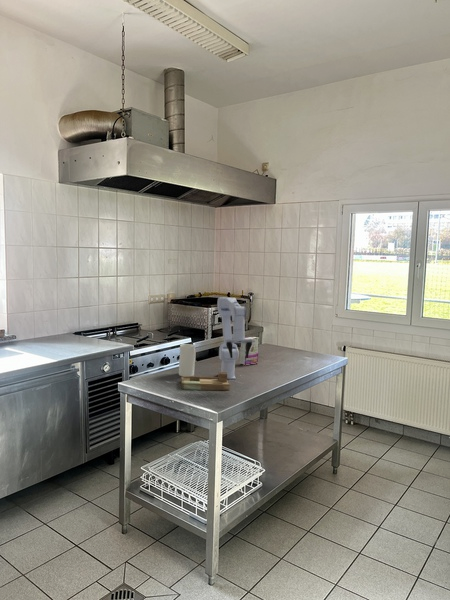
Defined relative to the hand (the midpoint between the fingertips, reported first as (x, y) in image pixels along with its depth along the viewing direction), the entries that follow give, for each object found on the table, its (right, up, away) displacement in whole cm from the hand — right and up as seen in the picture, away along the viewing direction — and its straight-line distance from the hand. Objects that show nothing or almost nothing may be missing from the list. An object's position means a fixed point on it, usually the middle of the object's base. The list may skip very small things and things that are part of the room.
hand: (239, 358), depth 217 cm
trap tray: (-17, -14, +2) cm, 22 cm away
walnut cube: (-8, -12, +6) cm, 16 cm away
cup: (-28, -12, +21) cm, 37 cm away
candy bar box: (+7, -11, +54) cm, 55 cm away
